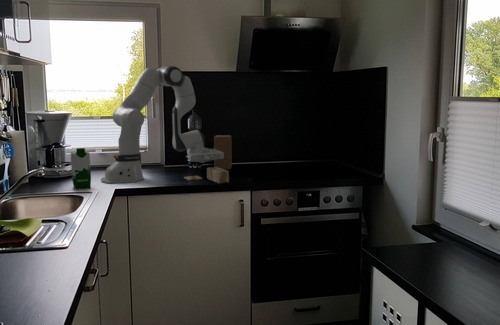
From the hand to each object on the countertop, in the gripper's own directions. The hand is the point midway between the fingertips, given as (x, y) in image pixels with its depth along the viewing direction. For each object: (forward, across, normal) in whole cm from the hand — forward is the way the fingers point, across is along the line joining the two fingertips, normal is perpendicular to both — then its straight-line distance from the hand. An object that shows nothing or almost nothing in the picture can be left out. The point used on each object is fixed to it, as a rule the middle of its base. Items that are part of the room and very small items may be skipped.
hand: (211, 158), depth 269 cm
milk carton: (-5, -68, +11) cm, 69 cm away
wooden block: (-27, +19, +11) cm, 35 cm away
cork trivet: (-2, -10, +11) cm, 15 cm away
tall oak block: (0, 0, +8) cm, 8 cm away
